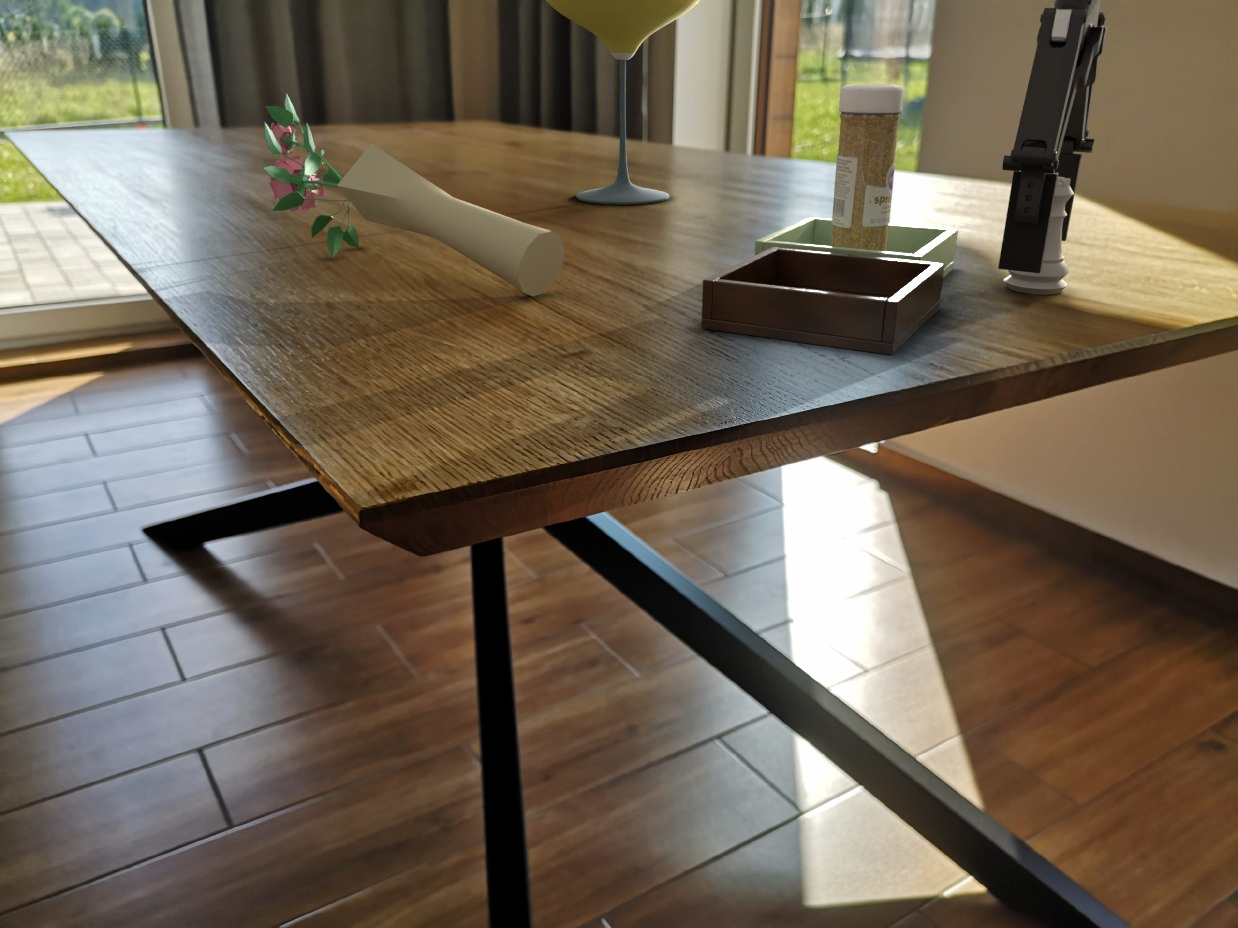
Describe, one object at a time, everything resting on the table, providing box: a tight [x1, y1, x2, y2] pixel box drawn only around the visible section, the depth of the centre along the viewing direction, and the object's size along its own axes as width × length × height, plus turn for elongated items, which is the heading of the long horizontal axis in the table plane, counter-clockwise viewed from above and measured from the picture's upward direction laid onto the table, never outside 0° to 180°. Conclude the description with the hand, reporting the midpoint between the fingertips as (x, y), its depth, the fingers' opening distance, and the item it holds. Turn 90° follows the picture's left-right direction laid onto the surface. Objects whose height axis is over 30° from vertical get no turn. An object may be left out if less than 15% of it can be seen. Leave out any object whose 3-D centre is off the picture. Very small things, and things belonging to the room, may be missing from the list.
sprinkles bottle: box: [831, 83, 905, 251], centre depth 78 cm, size 5×5×14 cm
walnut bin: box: [701, 247, 945, 356], centre depth 68 cm, size 12×12×3 cm
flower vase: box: [262, 93, 566, 297], centre depth 84 cm, size 12×12×35 cm
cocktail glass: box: [545, 0, 701, 206], centre depth 115 cm, size 18×18×25 cm
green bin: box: [754, 216, 959, 278], centre depth 80 cm, size 12×12×3 cm
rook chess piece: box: [1003, 177, 1074, 296], centre depth 75 cm, size 4×4×8 cm
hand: (1034, 254), depth 76 cm, fingers open, 13 cm apart
